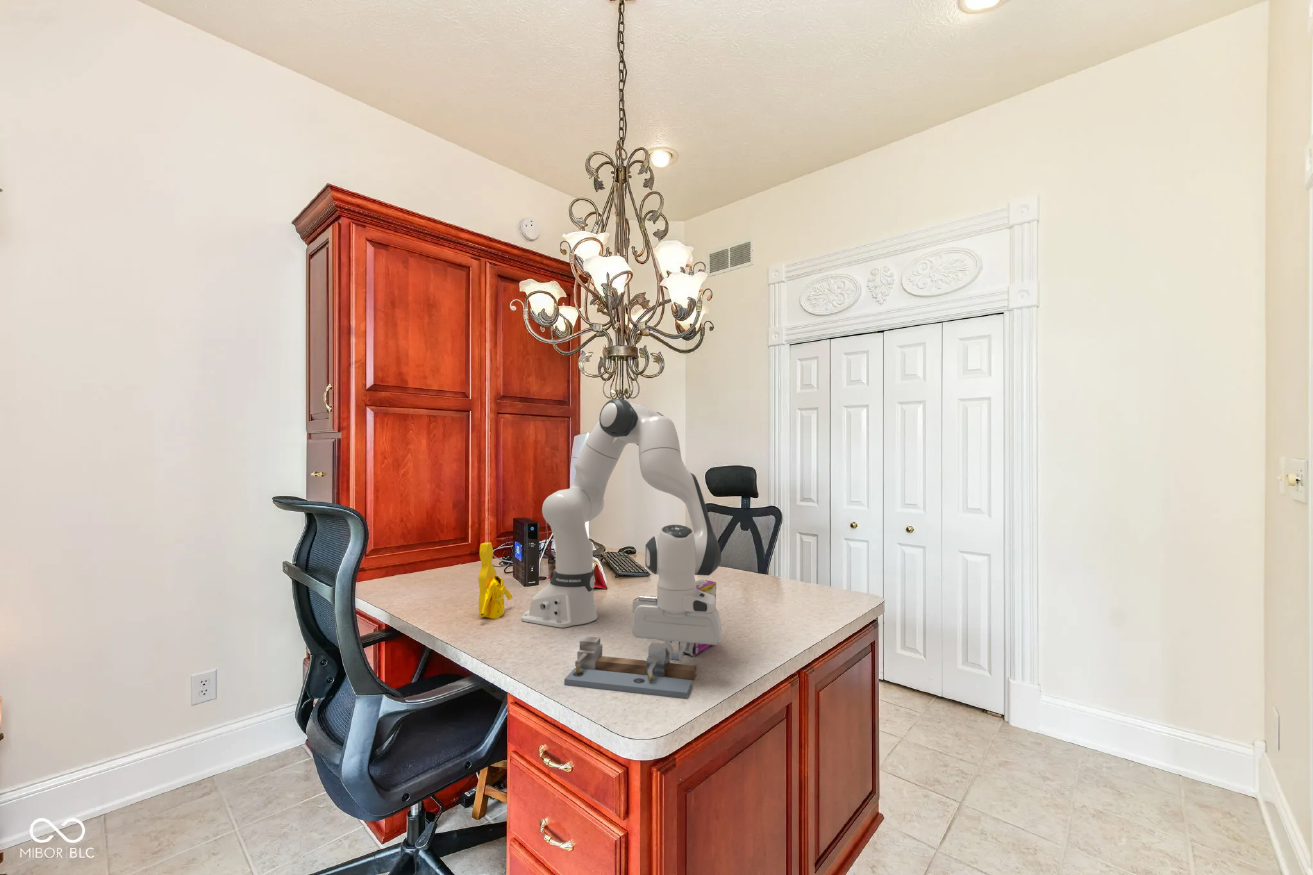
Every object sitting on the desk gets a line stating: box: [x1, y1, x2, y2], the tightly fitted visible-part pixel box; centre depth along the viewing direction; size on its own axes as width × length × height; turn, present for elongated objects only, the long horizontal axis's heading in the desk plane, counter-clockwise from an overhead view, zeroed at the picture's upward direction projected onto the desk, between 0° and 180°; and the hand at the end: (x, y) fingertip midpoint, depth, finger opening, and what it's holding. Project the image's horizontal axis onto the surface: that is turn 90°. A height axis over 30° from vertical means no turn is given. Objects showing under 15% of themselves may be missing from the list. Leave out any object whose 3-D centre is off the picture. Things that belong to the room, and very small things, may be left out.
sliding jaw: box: [646, 641, 671, 681], centre depth 120 cm, size 4×11×6 cm, turn 167°
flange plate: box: [563, 667, 693, 700], centre depth 116 cm, size 27×6×1 cm, turn 77°
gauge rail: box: [574, 635, 697, 681], centre depth 121 cm, size 27×11×6 cm, turn 77°
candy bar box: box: [678, 579, 717, 658], centre depth 137 cm, size 11×5×16 cm, turn 146°
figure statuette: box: [477, 542, 514, 620], centre depth 163 cm, size 18×8×22 cm, turn 167°
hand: (676, 659), depth 121 cm, fingers closed
